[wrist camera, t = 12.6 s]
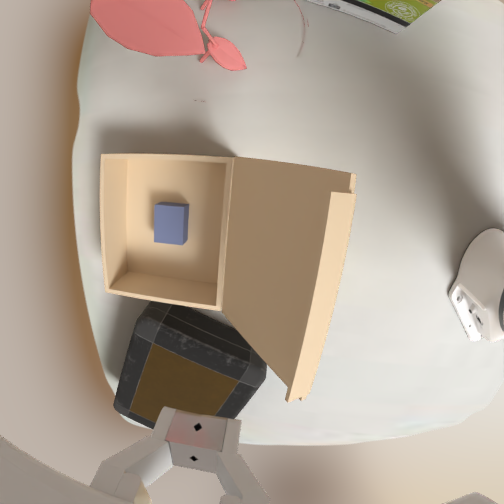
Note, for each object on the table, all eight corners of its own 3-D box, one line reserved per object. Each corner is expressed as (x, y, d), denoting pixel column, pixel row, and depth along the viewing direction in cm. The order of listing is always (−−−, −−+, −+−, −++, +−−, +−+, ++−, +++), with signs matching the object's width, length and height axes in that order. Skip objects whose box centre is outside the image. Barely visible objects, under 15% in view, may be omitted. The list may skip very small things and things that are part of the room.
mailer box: (228, 286, 42) (220, 311, 36) (126, 272, 42) (105, 292, 36) (239, 158, 36) (232, 158, 30) (126, 153, 37) (101, 154, 30)
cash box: (216, 424, 53) (210, 453, 46) (125, 385, 51) (111, 410, 44) (274, 343, 45) (275, 375, 38) (156, 289, 43) (137, 314, 36)
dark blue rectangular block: (187, 240, 40) (182, 245, 37) (160, 237, 40) (153, 242, 37) (189, 203, 38) (184, 207, 36) (161, 201, 38) (154, 204, 36)
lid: (207, 314, 35) (226, 311, 36) (285, 411, 21) (309, 401, 22) (217, 155, 29) (239, 156, 30) (334, 170, 15) (362, 175, 17)
